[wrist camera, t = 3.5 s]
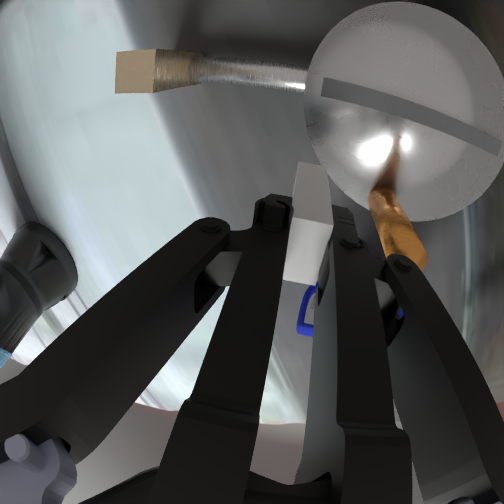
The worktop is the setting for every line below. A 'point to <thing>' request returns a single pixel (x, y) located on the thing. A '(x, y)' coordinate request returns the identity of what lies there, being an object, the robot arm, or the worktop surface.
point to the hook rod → (200, 71)
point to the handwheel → (406, 117)
